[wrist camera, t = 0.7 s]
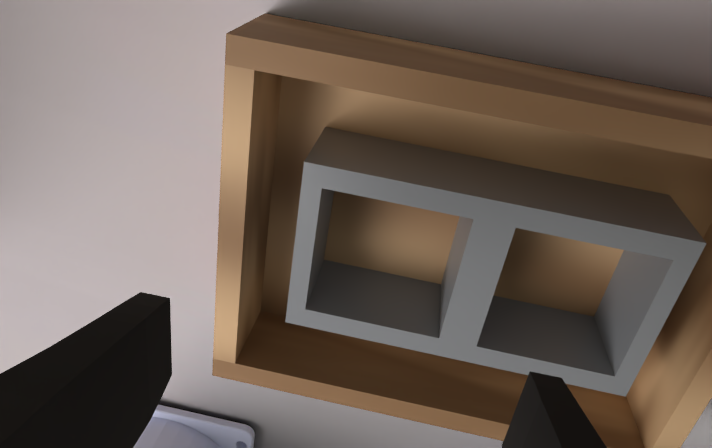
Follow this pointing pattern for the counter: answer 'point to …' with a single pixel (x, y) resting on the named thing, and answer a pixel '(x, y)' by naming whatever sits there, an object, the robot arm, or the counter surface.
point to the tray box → (446, 219)
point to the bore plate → (490, 261)
